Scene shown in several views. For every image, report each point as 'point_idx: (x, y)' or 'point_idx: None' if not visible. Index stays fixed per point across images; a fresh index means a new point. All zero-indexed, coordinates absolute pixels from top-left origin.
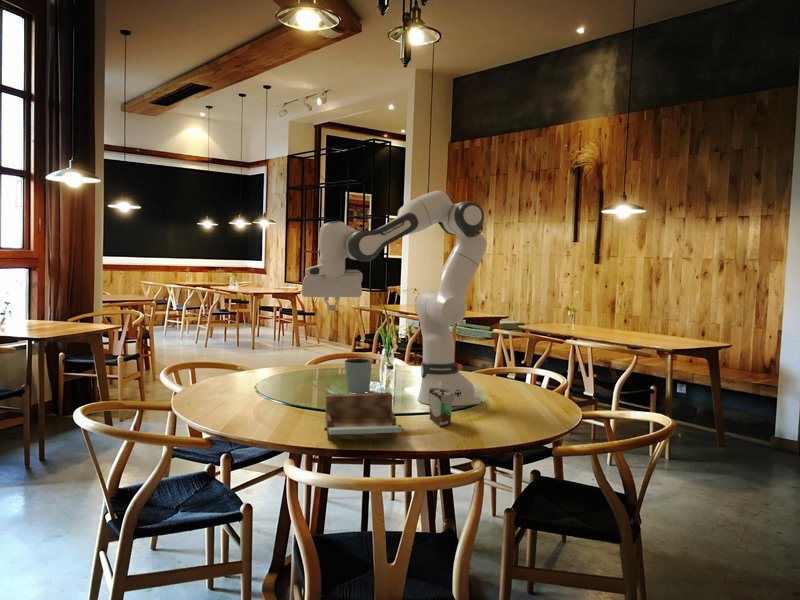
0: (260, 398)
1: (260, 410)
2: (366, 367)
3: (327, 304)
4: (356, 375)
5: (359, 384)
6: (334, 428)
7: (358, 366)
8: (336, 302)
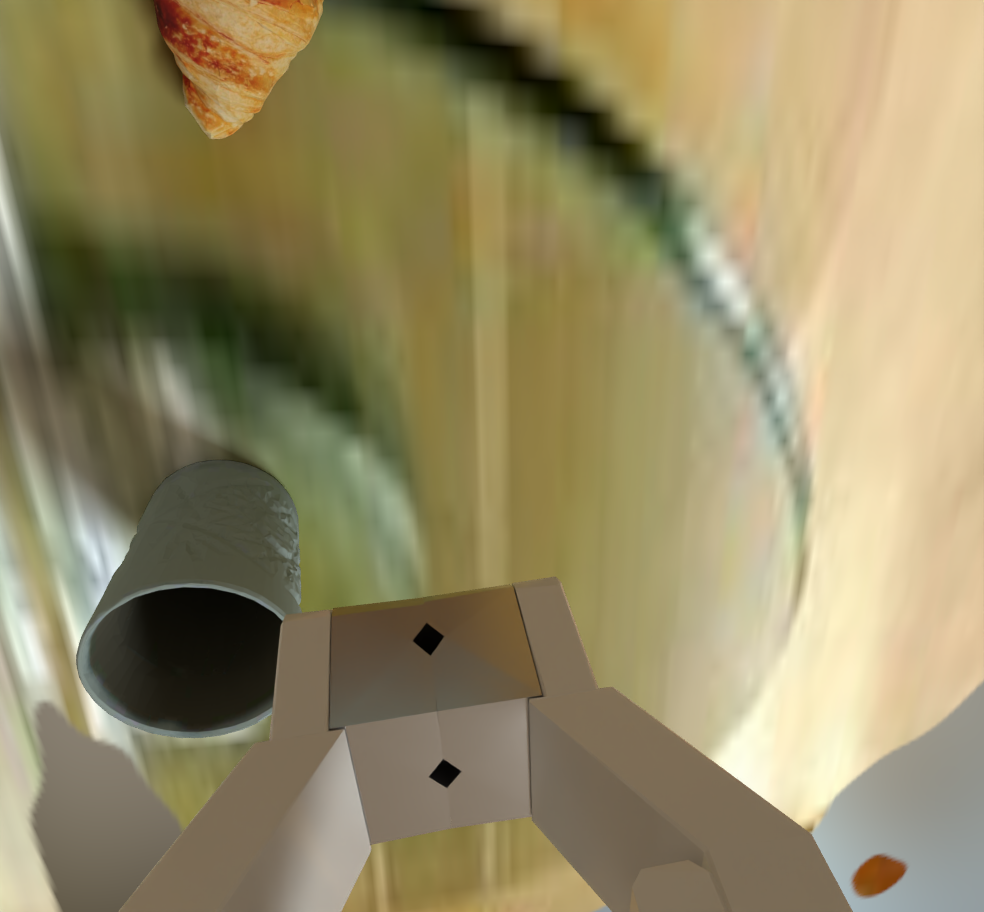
0: (808, 349)
1: (851, 30)
2: (117, 583)
3: (613, 713)
4: (208, 529)
5: (196, 495)
6: None
7: (178, 567)
8: (242, 843)
